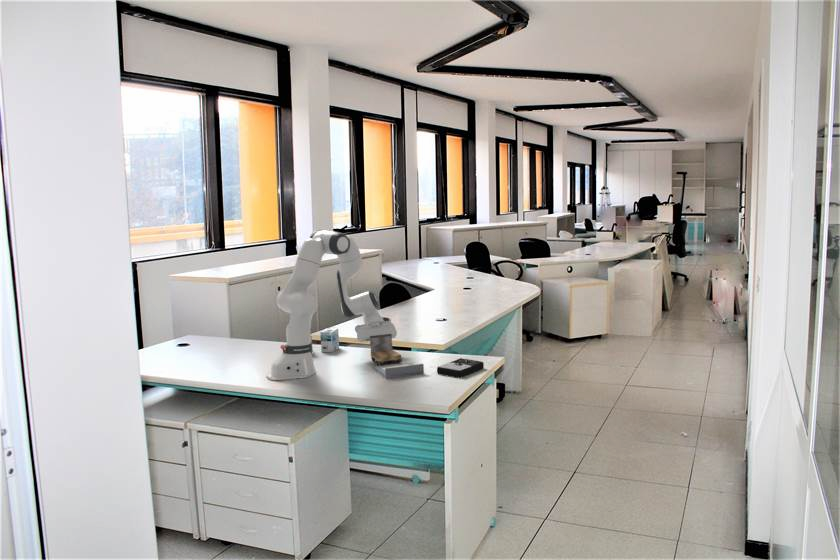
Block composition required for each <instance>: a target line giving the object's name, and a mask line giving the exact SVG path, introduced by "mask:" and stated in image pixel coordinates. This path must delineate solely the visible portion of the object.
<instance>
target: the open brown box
mask: <svg viewBox="0 0 840 560" xmlns="http://www.w3.org/2000/svg"><path fill="white" fill-rule="evenodd" d="M369 342H370V343H369V345H370V358H371V361H374V362H375V361H378V366H379V365H380V366H382V365H384V362H387V361H389V362H390V361H396V362H395V363H402V354H400V353H398V352H397V351H395V350H393V338H392V334H385V335H376V336H370V341H369Z"/></svg>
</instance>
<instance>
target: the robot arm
mask: <svg viewBox="0 0 840 560" xmlns="http://www.w3.org/2000/svg"><path fill="white" fill-rule="evenodd" d="M354 239H355V238H353V237H352V236H351V235H348V234H347V235H346V234H345V233H344V232H339V231H335V230H329V229H326V230H324V229H319V230H318V229H317V230H315V231H314V232H312V233H311V234H310V236H309V238H307V239H305V240H304V241H303V242H302V245H301V247H300V249H299V252H298V254H297V256H296V261H295V264H294V267H293V270H292V273H291V276H290V278H289V279H288V281H287V283H286V284H285V286H284V288H283V289H282V290H281V291H280V292H279V293H278V294H277V296H276V300H275V301H276V305H277V307H278V308H279V309H280V310H282V311H283V312H285V313H288V314H290V316H289V317H290V318H289V321H288V322H289V323H288V324H287V325H286V328H285V336H286V338H285V339H286V344H283V343H282V344H280V347H279V348H281V350H282V353H281V354H280V355H279V356H278V357H276V358H275V359H274V360H273V361H272V363H271V368H270V369H271V370H269V371H267V372H266V378H267V379H268V380H270V381H283V380H284V381H286V380H294V379H296V378H299V379H306V377H307V378H309V377H310V376H313V375H315V374H316V373H317V371H316V367H315V365H314V360H313V353H314V352H313V342H312V343H311V336H312V335H311V334H312V333H311V328H310V326H311V327H312V324H311V323H312V319H313V315H314V314H315V312H316V311H317V309H318V305H319V304H318V303H319V302H318V299H317V298H316V296H314V295H313V294H311V293H309V292H308V291H309V289H310V287H311V286H313V284H315V282H316V281H317V277H318V274H319V271H320V266H321V264H322V260H323V256H324V255H326V254H327V255H336V256H337V259H338V262H339V269H338V270H337V271H336V279H337V287H338V292H339V298H340V308H341V309H340V310H341V312H342V314H343V316H344V317H346V318H349V319H352V318H354V317H357V316H359V315H361V316H362V317H363V322H364V324H358V325H356V326H355V327H354V332H356V338H357V339H356V340H357V341H358V342H359V343H364V342H365V343H366V342H370V336H376V335H385V334H392V339H395V338H396V337H397V334H398V332H397V328H396V326H395V325H394V323H393V322H392V318H391V317H385V316H382V315H381V314H380V313H379V307H380V304H379V301H378V298H377V295H376V294H375V293H374V292H373V291H365V292H362V293H360V294H357V295H353V296H349V295H348V290H347V289H348V287H347V284H348V282H349V281H350V280H351V279H352V278H353V277H354V276H356V275H357V274H358V273H359V272H360V271H361V269H362V267H363V259H362V258H363V257H362V254H361V252H360V249H359V247H358V245H357V243H356V241H355V240H354ZM312 352H313V353H312ZM296 380H297V379H296Z"/></svg>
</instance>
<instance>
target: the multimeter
mask: <svg viewBox="0 0 840 560" xmlns="http://www.w3.org/2000/svg"><path fill="white" fill-rule="evenodd" d="M484 366H485V365H484V362H483V361H479V360H473V359H468V358H461V357H460V358H458V359H454V360H453V361H449V362H447V363H444V364H442V365H439V366H437V368H436V372H437V373H438V374H437V375H440V374H442V376H446V375H448V376H449V377H452V376H453V377H452V378H457V377H459V378H458V379H462V378H464V377H466V376H469V375H472V374H474V373H476V372H479V371H481V370H483V369H484ZM448 376H447V377H448ZM461 377H462V378H461Z"/></svg>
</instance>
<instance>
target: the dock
mask: <svg viewBox="0 0 840 560" xmlns="http://www.w3.org/2000/svg"><path fill="white" fill-rule="evenodd" d="M395 363H396V364H395ZM395 363H389V364H383V365H382V366H380V365H379V364H378V365H372V366H370V368H371V369H373V370H374V371H375V372H377V373H378V374H379V375H380V376H382V377H383V378H384V379H386V380H387V379H395V378H400V377H408V376H409V375H410V376H416V374H417V375H424V374H423V373H425V372H424V371H425V369H424V363H415V364H414V363H412V362H407V361H404V363H403V362H401V363H397V362H395Z"/></svg>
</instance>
